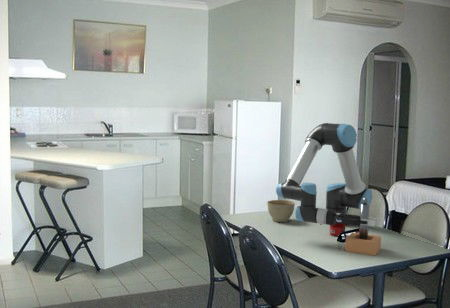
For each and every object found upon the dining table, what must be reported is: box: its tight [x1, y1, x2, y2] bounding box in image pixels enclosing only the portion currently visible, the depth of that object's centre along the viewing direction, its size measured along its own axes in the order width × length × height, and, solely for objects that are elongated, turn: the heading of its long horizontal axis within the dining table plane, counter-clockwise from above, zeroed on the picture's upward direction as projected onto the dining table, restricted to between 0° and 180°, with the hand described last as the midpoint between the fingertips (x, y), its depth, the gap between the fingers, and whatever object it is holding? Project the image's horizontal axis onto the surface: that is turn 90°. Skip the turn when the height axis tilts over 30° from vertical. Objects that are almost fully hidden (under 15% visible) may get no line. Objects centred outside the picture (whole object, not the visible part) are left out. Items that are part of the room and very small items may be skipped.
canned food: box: [329, 213, 346, 237], centre depth 286 cm, size 8×8×11 cm
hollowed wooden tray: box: [344, 232, 382, 256], centre depth 258 cm, size 14×14×6 cm
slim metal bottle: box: [358, 198, 370, 240], centre depth 257 cm, size 4×4×21 cm
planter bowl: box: [266, 199, 296, 223], centre depth 317 cm, size 16×16×11 cm
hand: (375, 222), depth 255 cm, fingers closed on slim metal bottle, 4 cm apart
